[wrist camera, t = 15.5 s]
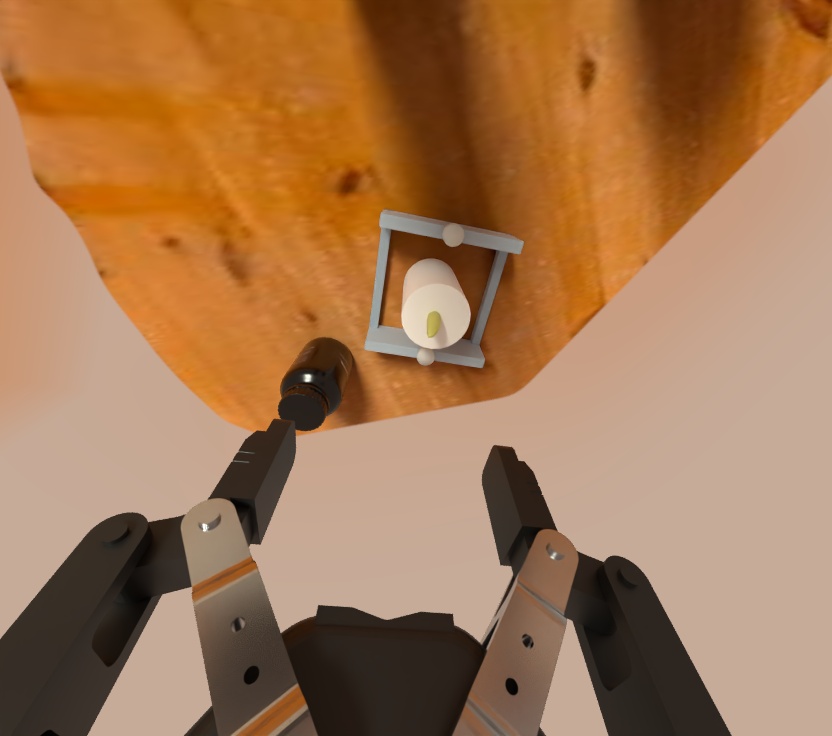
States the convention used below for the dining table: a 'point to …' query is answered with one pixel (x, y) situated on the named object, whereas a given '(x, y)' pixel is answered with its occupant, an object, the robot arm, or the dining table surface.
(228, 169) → the dining table surface
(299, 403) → the supplement bottle
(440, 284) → the candle
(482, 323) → the holder
